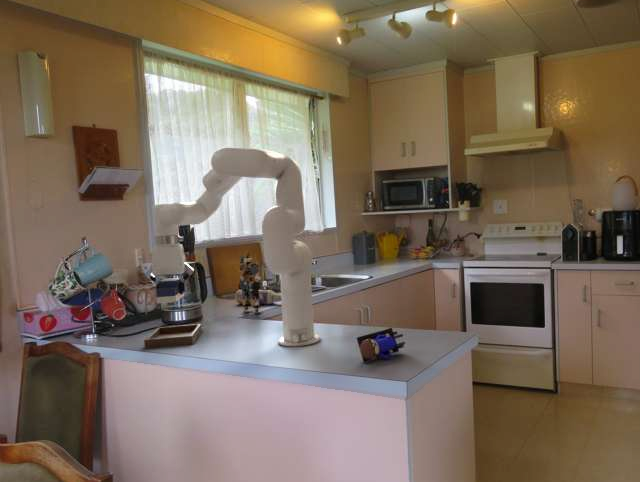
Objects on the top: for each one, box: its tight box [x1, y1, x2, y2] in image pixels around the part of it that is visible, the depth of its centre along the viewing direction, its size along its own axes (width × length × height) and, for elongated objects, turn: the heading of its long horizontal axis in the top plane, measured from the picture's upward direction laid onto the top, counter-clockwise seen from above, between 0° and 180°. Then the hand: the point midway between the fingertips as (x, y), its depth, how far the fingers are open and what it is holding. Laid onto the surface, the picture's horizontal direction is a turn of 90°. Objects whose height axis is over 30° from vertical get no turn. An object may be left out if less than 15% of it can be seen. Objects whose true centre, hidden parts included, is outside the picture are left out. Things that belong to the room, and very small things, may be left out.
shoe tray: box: [143, 323, 203, 350], centre depth 181 cm, size 20×15×3 cm
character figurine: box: [356, 327, 406, 363], centre depth 144 cm, size 8×7×15 cm
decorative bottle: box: [234, 289, 281, 306], centre depth 245 cm, size 26×8×7 cm, turn 68°
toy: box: [237, 253, 263, 316], centre depth 222 cm, size 14×9×25 cm, turn 47°
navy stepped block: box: [155, 277, 185, 304], centre depth 179 cm, size 6×14×6 cm, turn 10°
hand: (171, 294), depth 181 cm, fingers closed on navy stepped block, 6 cm apart
